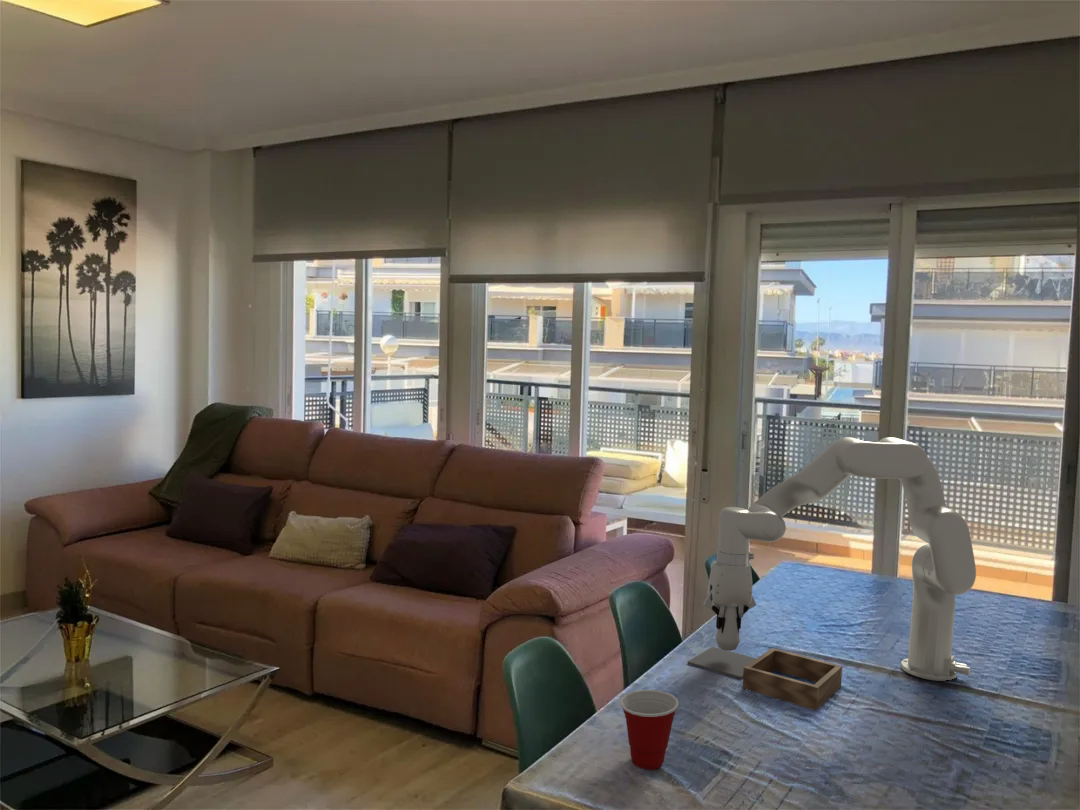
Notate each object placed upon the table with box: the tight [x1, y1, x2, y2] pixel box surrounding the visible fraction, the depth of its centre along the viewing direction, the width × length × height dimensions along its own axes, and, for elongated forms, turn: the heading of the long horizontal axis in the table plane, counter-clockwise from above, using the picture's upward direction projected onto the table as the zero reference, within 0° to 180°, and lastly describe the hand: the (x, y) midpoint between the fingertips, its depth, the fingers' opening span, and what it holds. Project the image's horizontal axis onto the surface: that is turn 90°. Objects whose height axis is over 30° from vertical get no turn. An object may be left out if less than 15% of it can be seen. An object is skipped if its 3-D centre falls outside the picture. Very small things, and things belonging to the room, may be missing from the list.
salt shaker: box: [715, 603, 741, 652], centre depth 209 cm, size 6×6×13 cm
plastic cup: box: [619, 689, 679, 771], centre depth 158 cm, size 11×11×12 cm
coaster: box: [687, 646, 758, 680], centre depth 210 cm, size 14×14×1 cm
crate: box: [741, 647, 843, 711], centre depth 197 cm, size 17×17×5 cm
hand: (728, 631), depth 210 cm, fingers closed on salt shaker, 3 cm apart
